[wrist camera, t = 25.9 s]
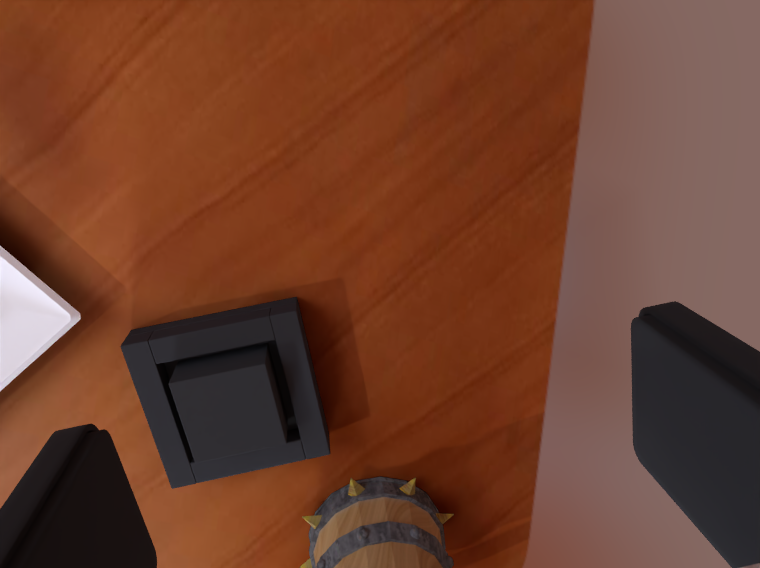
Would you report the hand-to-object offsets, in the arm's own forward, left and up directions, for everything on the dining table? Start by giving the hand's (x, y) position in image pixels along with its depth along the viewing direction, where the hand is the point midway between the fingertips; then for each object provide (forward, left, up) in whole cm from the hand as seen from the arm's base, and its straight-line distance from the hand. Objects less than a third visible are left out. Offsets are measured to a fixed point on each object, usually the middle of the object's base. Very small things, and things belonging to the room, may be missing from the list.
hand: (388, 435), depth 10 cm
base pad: (+9, +13, -28) cm, 32 cm away
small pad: (+9, +13, -27) cm, 31 cm away
